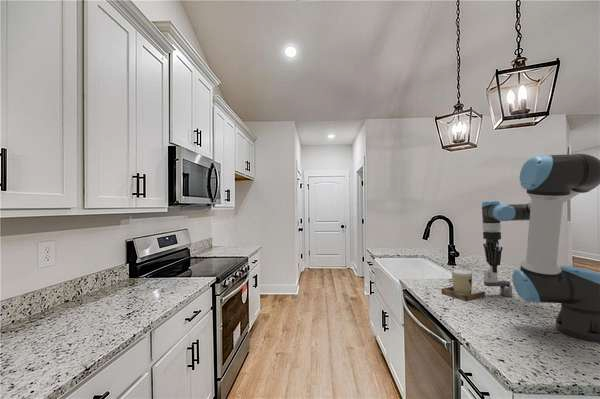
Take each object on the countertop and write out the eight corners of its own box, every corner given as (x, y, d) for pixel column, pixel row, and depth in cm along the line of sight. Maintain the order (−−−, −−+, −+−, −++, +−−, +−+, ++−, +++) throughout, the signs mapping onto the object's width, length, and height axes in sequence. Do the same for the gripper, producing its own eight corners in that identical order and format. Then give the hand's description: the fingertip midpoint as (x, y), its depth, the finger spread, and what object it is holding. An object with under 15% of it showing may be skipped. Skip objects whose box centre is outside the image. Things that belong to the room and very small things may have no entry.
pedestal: (514, 296, 145) (514, 286, 145) (508, 297, 143) (508, 287, 143) (504, 293, 150) (503, 283, 150) (498, 295, 148) (497, 285, 148)
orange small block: (479, 288, 160) (479, 287, 160) (478, 288, 159) (478, 288, 159) (474, 287, 162) (474, 286, 162) (473, 287, 161) (473, 286, 161)
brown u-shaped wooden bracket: (485, 296, 146) (484, 291, 146) (466, 301, 140) (466, 296, 140) (459, 289, 158) (459, 284, 158) (441, 293, 152) (441, 288, 152)
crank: (507, 284, 148) (506, 270, 148) (512, 286, 145) (511, 271, 145) (483, 284, 148) (483, 270, 148) (488, 286, 145) (487, 272, 145)
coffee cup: (475, 298, 143) (474, 274, 143) (453, 297, 146) (453, 273, 146) (470, 293, 152) (470, 270, 152) (450, 291, 155) (450, 269, 155)
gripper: (507, 232, 138) (510, 281, 138) (492, 229, 151) (494, 275, 151) (491, 232, 139) (493, 282, 138) (477, 230, 152) (479, 275, 151)
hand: (493, 278), depth 144 cm, fingers closed
